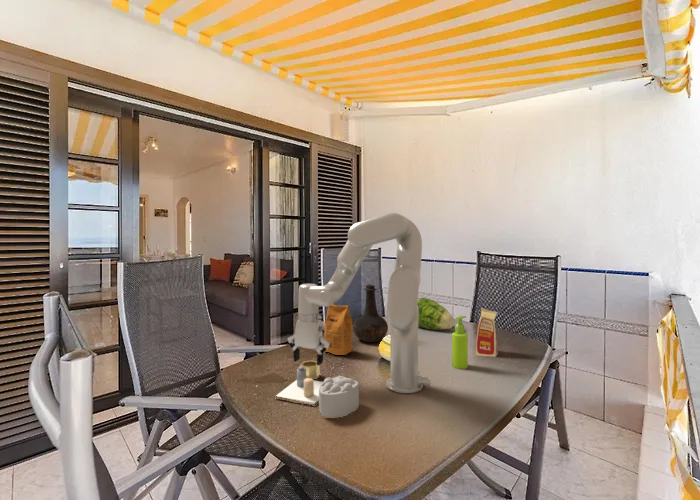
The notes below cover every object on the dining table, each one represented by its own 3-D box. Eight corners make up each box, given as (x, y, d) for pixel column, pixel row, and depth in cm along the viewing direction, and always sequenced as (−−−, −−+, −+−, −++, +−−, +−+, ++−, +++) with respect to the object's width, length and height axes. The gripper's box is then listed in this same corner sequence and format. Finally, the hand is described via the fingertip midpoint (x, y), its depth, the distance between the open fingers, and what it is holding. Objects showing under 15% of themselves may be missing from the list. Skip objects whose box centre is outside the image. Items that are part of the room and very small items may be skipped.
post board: (333, 386, 122) (333, 365, 122) (314, 406, 108) (313, 382, 108) (298, 381, 127) (298, 361, 127) (275, 399, 113) (275, 376, 113)
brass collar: (322, 374, 133) (322, 361, 133) (314, 381, 127) (313, 368, 127) (306, 372, 136) (306, 359, 136) (297, 379, 129) (297, 365, 129)
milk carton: (475, 355, 153) (475, 309, 152) (476, 348, 161) (476, 305, 161) (498, 357, 149) (498, 311, 149) (498, 350, 158) (498, 306, 157)
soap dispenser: (471, 365, 141) (471, 316, 140) (463, 370, 136) (463, 319, 135) (457, 361, 145) (457, 313, 144) (449, 366, 140) (449, 316, 139)
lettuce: (448, 343, 189) (441, 326, 179) (412, 328, 205) (404, 311, 195) (462, 320, 196) (456, 302, 187) (426, 307, 212) (419, 290, 203)
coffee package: (334, 347, 166) (333, 301, 166) (355, 351, 159) (354, 303, 158) (320, 353, 158) (319, 304, 157) (342, 358, 151) (341, 307, 150)
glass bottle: (365, 333, 190) (364, 281, 189) (394, 338, 179) (394, 284, 178) (345, 341, 175) (345, 285, 174) (376, 347, 165) (375, 288, 164)
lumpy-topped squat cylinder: (363, 404, 109) (363, 377, 109) (338, 423, 99) (337, 393, 98) (336, 396, 115) (336, 370, 115) (310, 413, 105) (310, 384, 104)
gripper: (333, 317, 131) (333, 362, 132) (293, 312, 137) (293, 355, 138) (325, 321, 124) (324, 369, 125) (283, 317, 130) (282, 362, 131)
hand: (308, 362), depth 131 cm, fingers open, 9 cm apart
